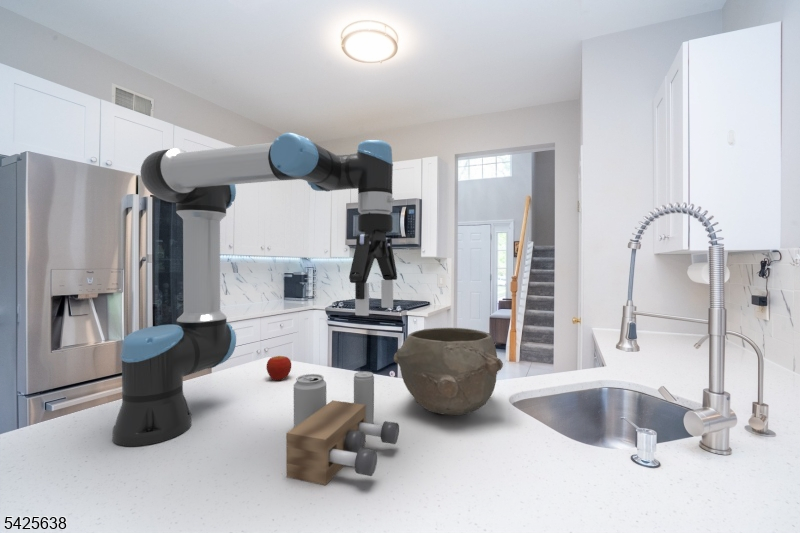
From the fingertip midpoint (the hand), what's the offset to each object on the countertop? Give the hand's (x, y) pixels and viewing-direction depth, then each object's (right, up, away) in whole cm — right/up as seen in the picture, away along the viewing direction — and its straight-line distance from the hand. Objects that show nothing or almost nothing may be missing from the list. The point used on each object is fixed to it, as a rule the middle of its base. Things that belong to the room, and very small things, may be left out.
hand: (375, 311), depth 84 cm
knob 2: (-4, -26, -16) cm, 31 cm away
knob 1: (-7, -26, -9) cm, 28 cm away
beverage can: (-3, -28, +8) cm, 29 cm away
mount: (-9, -28, -8) cm, 30 cm away
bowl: (+18, -28, +17) cm, 37 cm away
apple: (-35, -28, +43) cm, 61 cm away
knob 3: (-1, -26, -5) cm, 26 cm away
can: (-16, -28, +5) cm, 33 cm away
